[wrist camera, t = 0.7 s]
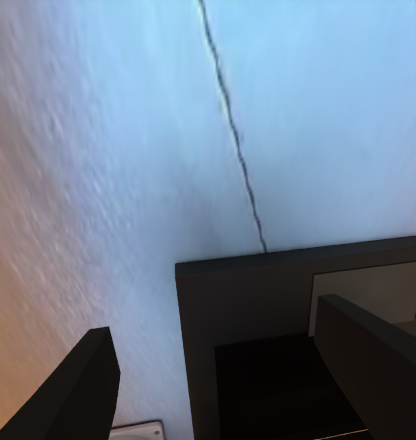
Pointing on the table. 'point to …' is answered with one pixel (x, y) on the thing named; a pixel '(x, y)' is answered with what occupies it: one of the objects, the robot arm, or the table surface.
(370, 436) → the laptop screen
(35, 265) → the table surface
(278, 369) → the laptop
